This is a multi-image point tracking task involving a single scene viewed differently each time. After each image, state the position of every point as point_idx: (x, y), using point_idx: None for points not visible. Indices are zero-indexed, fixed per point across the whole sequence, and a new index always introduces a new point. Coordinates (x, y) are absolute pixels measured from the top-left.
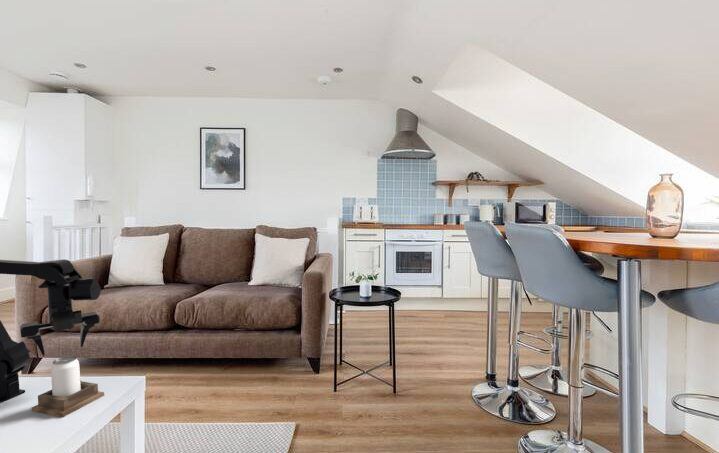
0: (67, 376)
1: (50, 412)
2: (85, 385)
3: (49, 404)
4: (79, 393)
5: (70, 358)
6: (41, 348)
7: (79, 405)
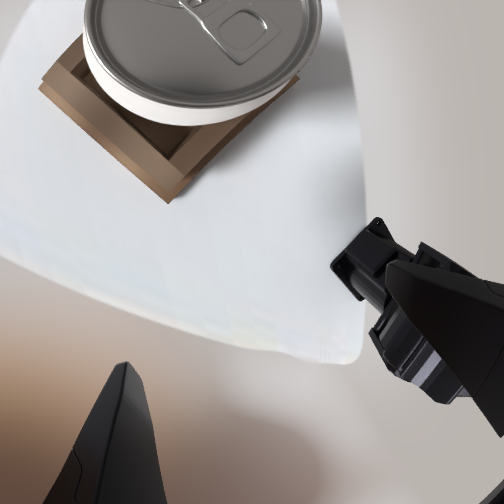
0: None
1: None
2: (96, 95)
3: None
4: None
5: (156, 54)
6: (451, 278)
7: None
